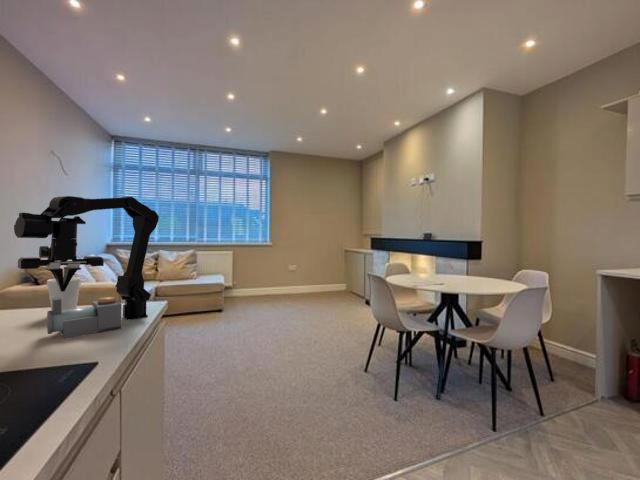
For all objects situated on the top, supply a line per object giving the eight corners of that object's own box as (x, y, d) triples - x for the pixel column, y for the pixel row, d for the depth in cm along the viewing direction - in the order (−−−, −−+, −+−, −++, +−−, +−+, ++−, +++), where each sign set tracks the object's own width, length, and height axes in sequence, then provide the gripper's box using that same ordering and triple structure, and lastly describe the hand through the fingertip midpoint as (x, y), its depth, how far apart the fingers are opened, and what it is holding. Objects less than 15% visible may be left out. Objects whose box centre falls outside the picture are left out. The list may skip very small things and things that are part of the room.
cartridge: (91, 323, 97) (92, 293, 97) (95, 328, 92) (96, 296, 92) (46, 331, 89) (47, 297, 89) (48, 336, 85) (48, 301, 85)
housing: (113, 321, 103) (114, 298, 103) (121, 328, 96) (121, 304, 96) (60, 330, 93) (60, 305, 93) (63, 339, 86) (64, 311, 86)
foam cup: (79, 309, 117) (79, 276, 117) (82, 314, 110) (82, 279, 110) (46, 314, 110) (46, 278, 110) (47, 319, 104) (47, 282, 103)
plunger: (113, 308, 100) (113, 296, 100) (116, 311, 97) (116, 298, 97) (96, 310, 97) (96, 298, 97) (99, 313, 94) (99, 300, 94)
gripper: (93, 238, 101) (91, 285, 101) (15, 237, 86) (13, 291, 86) (105, 239, 94) (103, 289, 94) (22, 238, 80) (20, 296, 80)
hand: (62, 291), depth 89 cm, fingers closed
